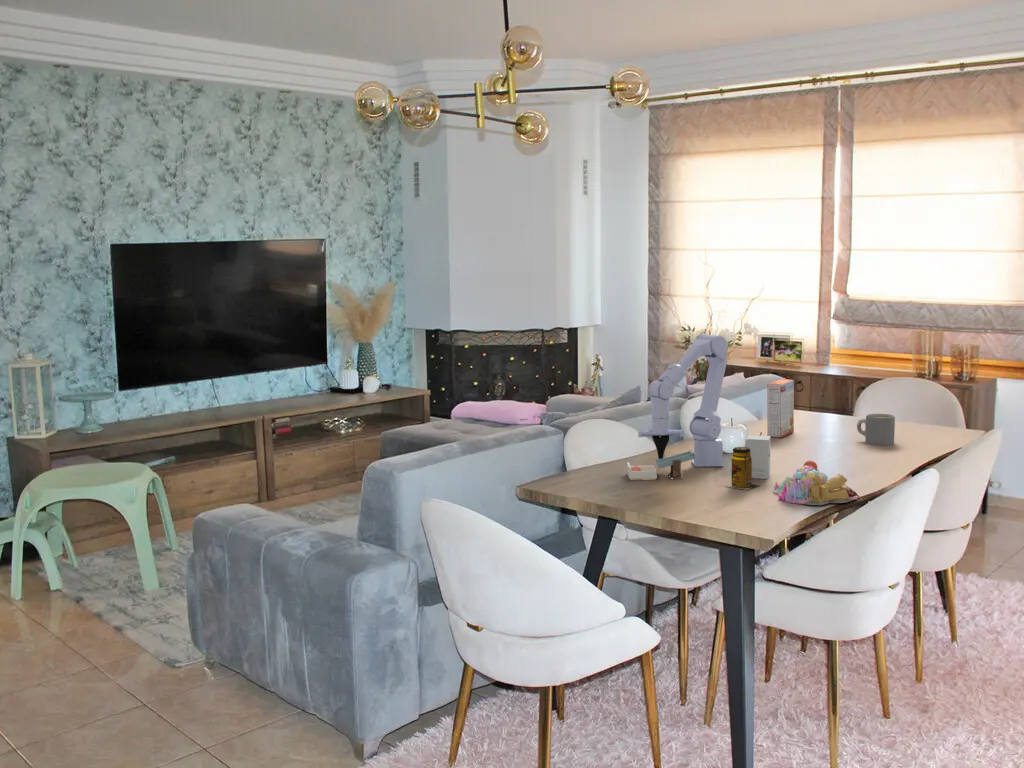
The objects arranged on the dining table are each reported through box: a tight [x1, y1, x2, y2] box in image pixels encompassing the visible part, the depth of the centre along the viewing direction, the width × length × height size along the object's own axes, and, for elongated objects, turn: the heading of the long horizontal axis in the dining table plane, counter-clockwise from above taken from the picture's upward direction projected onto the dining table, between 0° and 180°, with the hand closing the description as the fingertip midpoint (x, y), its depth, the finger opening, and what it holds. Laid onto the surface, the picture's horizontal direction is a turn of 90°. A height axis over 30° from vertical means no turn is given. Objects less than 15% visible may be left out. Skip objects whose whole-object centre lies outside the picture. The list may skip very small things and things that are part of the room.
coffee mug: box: [856, 413, 896, 446], centre depth 366 cm, size 13×10×10 cm
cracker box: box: [766, 378, 795, 439], centre depth 384 cm, size 14×6×21 cm, turn 144°
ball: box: [631, 465, 641, 471], centre depth 320 cm, size 3×3×3 cm
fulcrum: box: [667, 460, 685, 480], centre depth 319 cm, size 4×8×6 cm, turn 178°
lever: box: [654, 449, 695, 470], centre depth 322 cm, size 12×12×2 cm
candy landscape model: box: [772, 460, 860, 506], centre depth 291 cm, size 25×24×9 cm
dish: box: [626, 461, 658, 479], centre depth 320 cm, size 9×9×4 cm
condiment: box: [726, 446, 762, 491], centre depth 304 cm, size 7×8×12 cm
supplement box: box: [744, 435, 772, 480], centre depth 317 cm, size 7×7×13 cm
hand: (660, 458), depth 326 cm, fingers closed
